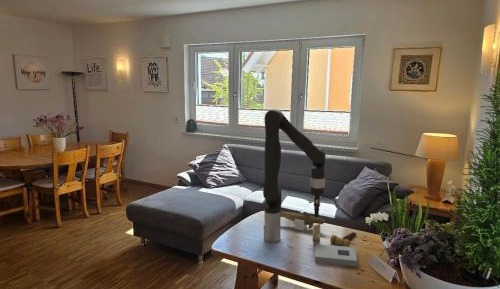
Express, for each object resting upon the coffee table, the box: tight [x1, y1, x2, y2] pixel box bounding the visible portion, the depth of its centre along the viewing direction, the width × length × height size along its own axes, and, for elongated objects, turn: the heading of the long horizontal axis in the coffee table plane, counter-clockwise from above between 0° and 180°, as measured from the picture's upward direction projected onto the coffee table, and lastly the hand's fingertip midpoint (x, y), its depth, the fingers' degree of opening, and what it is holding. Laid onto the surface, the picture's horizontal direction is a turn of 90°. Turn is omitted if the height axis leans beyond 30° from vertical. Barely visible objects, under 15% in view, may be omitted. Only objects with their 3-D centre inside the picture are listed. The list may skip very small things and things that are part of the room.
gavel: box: [329, 231, 357, 247], centre depth 185 cm, size 21×5×10 cm
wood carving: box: [280, 209, 326, 231], centre depth 203 cm, size 9×35×11 cm, turn 61°
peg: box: [311, 223, 321, 247], centre depth 178 cm, size 4×4×12 cm
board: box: [314, 243, 358, 267], centre depth 165 cm, size 20×14×3 cm
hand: (316, 214), depth 177 cm, fingers open, 8 cm apart
